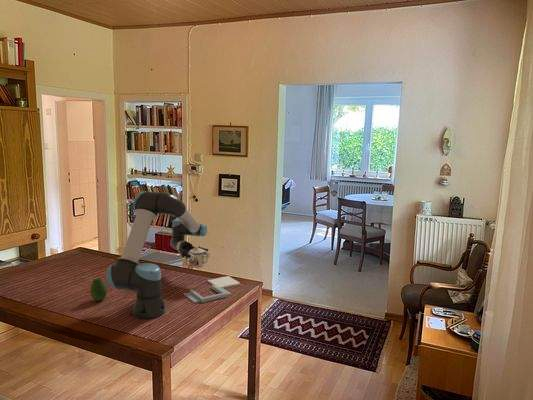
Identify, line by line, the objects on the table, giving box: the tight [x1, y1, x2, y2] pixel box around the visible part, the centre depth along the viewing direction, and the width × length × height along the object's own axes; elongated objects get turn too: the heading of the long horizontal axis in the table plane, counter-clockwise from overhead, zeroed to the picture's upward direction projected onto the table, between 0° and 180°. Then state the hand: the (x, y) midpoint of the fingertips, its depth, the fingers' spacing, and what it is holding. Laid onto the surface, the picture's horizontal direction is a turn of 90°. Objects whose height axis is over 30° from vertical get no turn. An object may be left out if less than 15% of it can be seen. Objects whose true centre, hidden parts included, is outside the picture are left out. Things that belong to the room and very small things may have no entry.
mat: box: [207, 275, 241, 289], centre depth 237 cm, size 14×14×1 cm
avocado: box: [90, 277, 108, 302], centre depth 208 cm, size 8×8×12 cm
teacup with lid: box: [188, 245, 209, 269], centre depth 231 cm, size 12×9×12 cm
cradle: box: [183, 284, 232, 304], centre depth 218 cm, size 22×15×2 cm
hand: (201, 256), depth 227 cm, fingers closed on teacup with lid, 9 cm apart
